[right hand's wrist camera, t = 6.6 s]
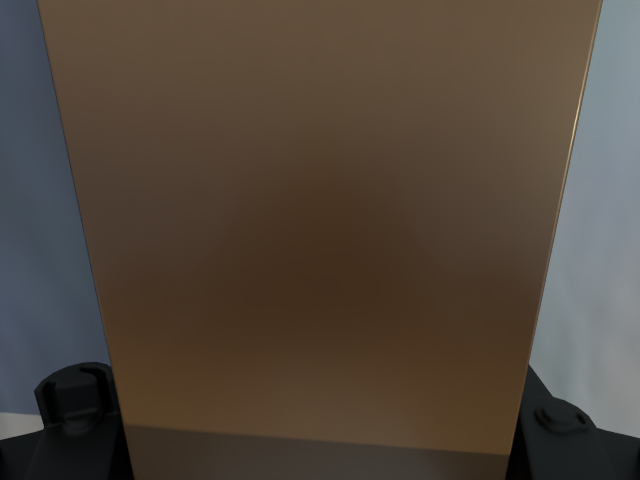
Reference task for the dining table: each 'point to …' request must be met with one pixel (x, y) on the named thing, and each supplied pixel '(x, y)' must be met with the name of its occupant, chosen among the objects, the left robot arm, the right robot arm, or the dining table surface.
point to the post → (319, 223)
